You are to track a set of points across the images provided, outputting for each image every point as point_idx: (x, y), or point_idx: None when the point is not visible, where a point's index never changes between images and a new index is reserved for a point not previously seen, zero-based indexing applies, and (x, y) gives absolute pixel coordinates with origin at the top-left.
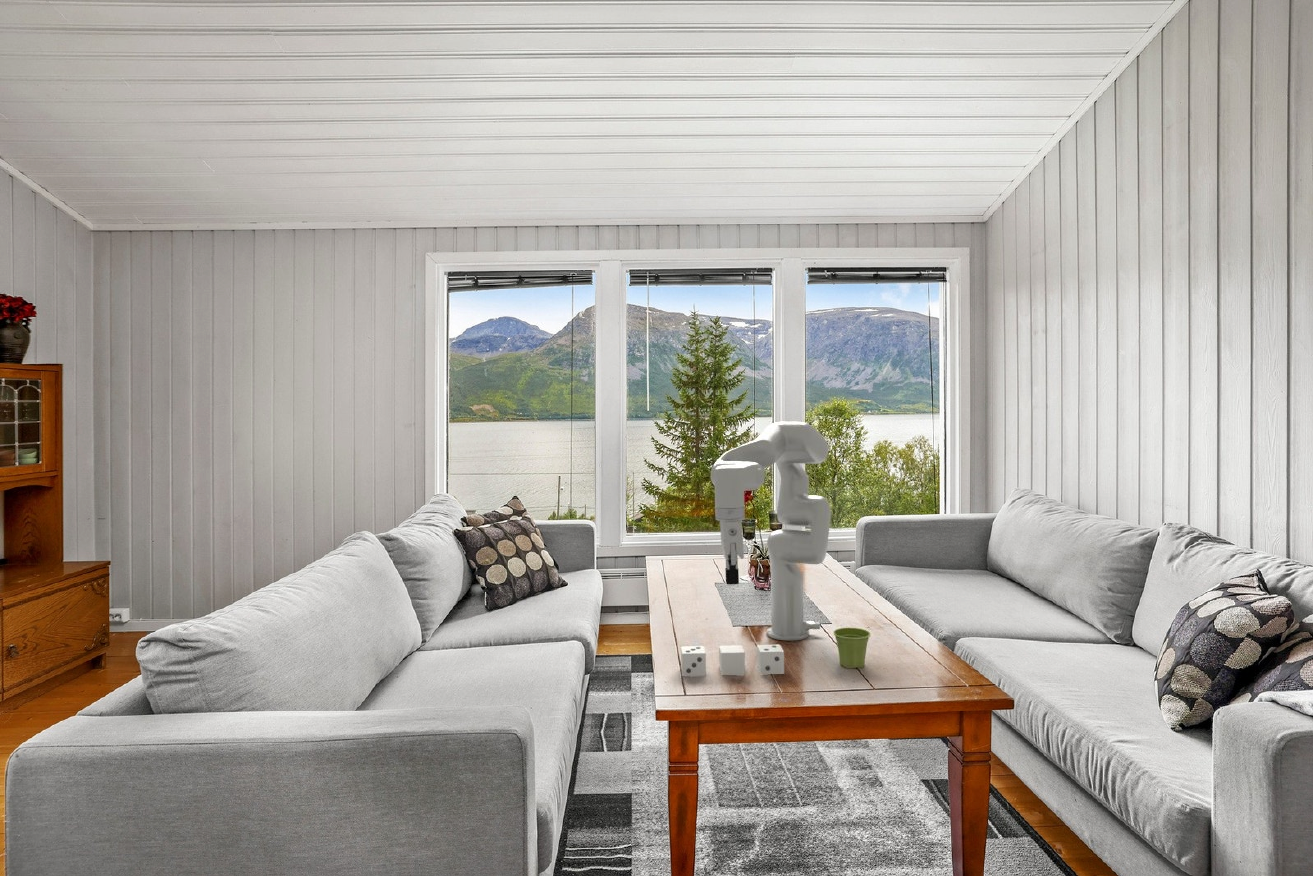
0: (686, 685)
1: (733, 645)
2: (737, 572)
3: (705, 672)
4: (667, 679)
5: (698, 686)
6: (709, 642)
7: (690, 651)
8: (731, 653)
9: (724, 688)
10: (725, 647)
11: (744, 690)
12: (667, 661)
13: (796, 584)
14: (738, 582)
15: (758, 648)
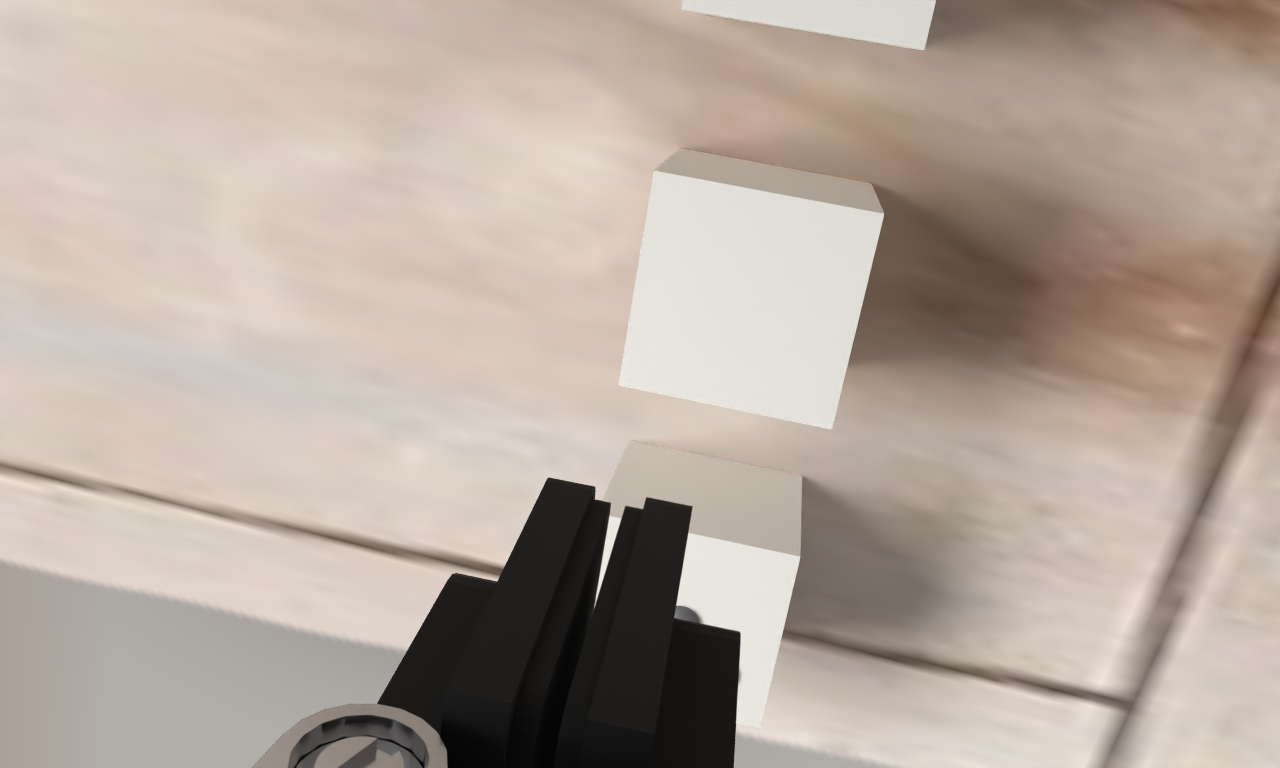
0: (949, 648)
1: (641, 254)
2: (657, 683)
3: (800, 489)
4: (794, 726)
5: (997, 582)
6: (26, 228)
7: None
8: (851, 336)
9: (1105, 425)
10: (685, 346)
11: (1207, 294)
12: None
13: None
14: (686, 517)
15: (781, 26)
